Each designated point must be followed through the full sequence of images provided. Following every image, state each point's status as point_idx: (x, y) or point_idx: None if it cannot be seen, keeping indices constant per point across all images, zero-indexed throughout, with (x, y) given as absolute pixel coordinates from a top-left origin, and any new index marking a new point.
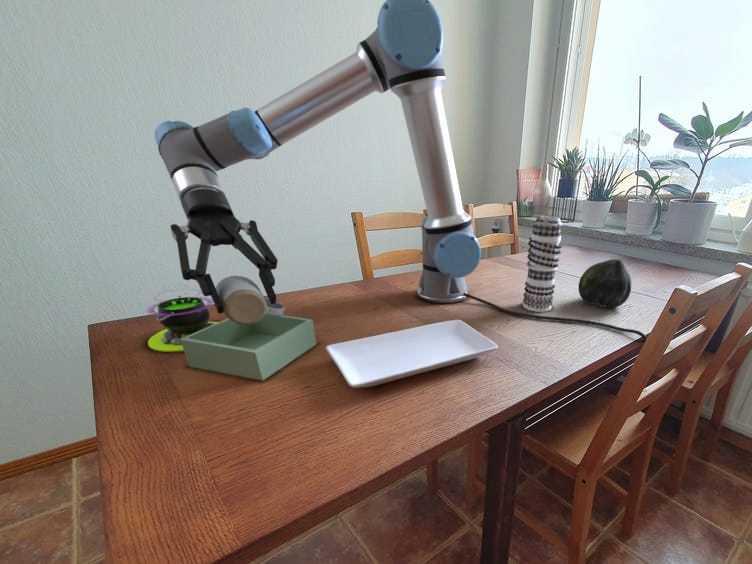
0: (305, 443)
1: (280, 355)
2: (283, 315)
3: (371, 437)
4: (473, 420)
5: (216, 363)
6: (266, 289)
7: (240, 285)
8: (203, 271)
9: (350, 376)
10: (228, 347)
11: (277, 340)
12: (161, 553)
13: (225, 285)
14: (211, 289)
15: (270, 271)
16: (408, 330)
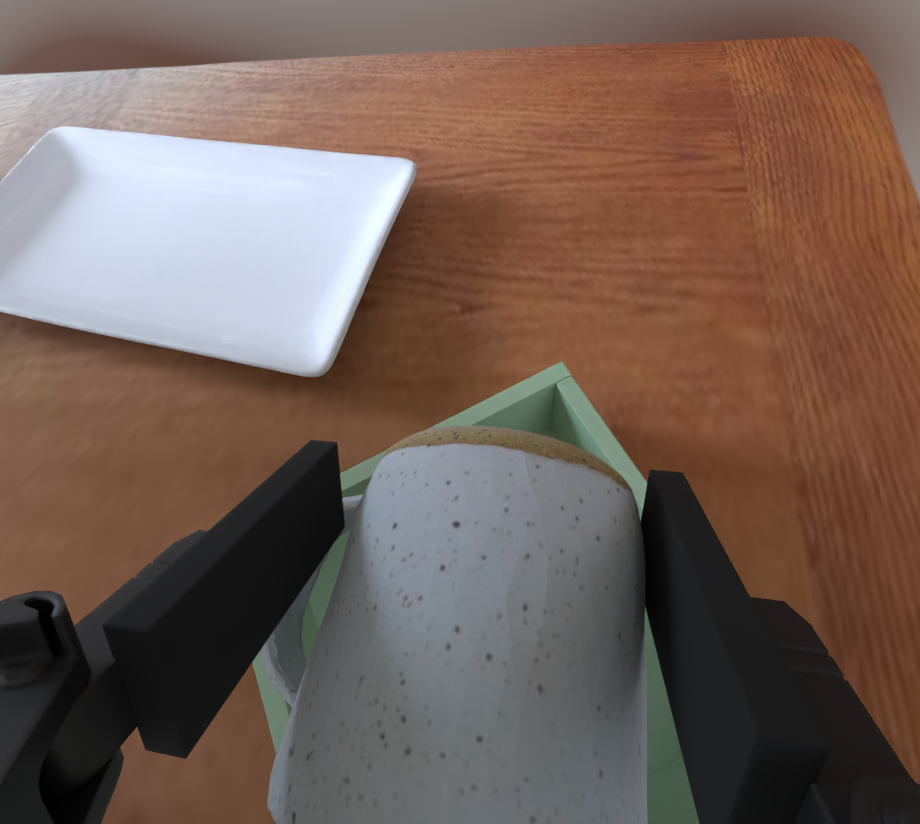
0: (573, 144)
1: None
2: (270, 709)
3: (472, 105)
4: (318, 62)
5: None
6: (296, 549)
7: (475, 519)
8: (857, 822)
9: (385, 210)
10: (636, 470)
11: (450, 419)
12: (820, 67)
13: (572, 679)
14: (726, 564)
15: (97, 616)
16: (65, 317)
